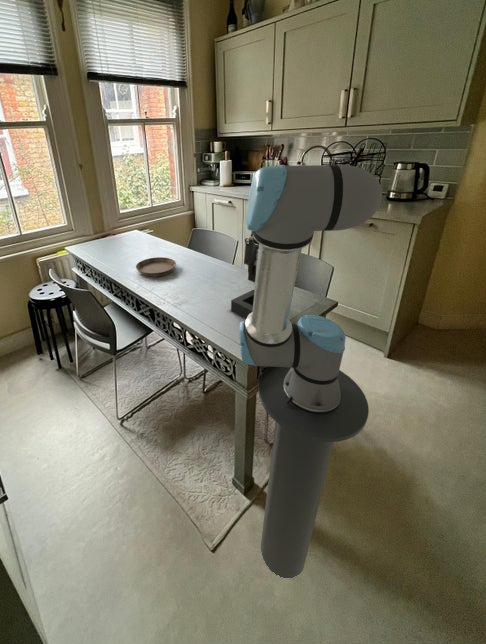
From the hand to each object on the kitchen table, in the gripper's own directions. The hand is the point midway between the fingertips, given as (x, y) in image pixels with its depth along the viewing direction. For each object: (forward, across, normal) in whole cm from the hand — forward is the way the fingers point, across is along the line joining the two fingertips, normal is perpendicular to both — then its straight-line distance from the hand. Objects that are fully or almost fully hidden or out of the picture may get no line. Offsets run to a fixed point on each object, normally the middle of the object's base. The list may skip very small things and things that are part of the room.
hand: (257, 277), depth 119 cm
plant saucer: (+15, +7, -60) cm, 62 cm away
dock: (+15, 0, 0) cm, 15 cm away
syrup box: (+2, 0, 0) cm, 2 cm away
